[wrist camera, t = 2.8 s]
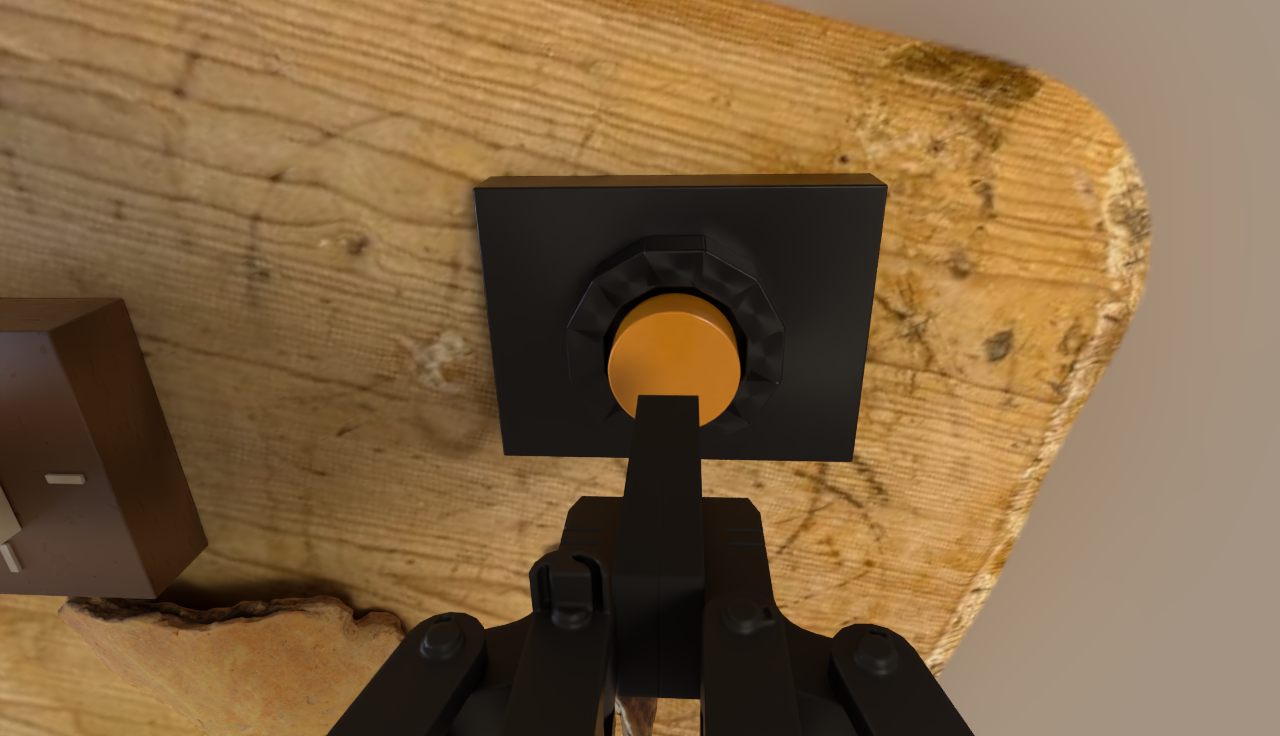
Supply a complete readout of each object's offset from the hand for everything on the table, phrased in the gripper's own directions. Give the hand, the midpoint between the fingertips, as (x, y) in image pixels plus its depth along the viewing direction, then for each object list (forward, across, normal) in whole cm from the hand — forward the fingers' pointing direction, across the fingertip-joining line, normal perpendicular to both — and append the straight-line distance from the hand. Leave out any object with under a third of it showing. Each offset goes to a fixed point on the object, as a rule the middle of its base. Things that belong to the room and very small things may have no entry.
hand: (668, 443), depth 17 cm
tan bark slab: (+10, -20, -17) cm, 28 cm away
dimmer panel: (+9, -27, -5) cm, 29 cm away
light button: (+6, 0, 0) cm, 6 cm away
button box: (+9, 0, 0) cm, 9 cm away
